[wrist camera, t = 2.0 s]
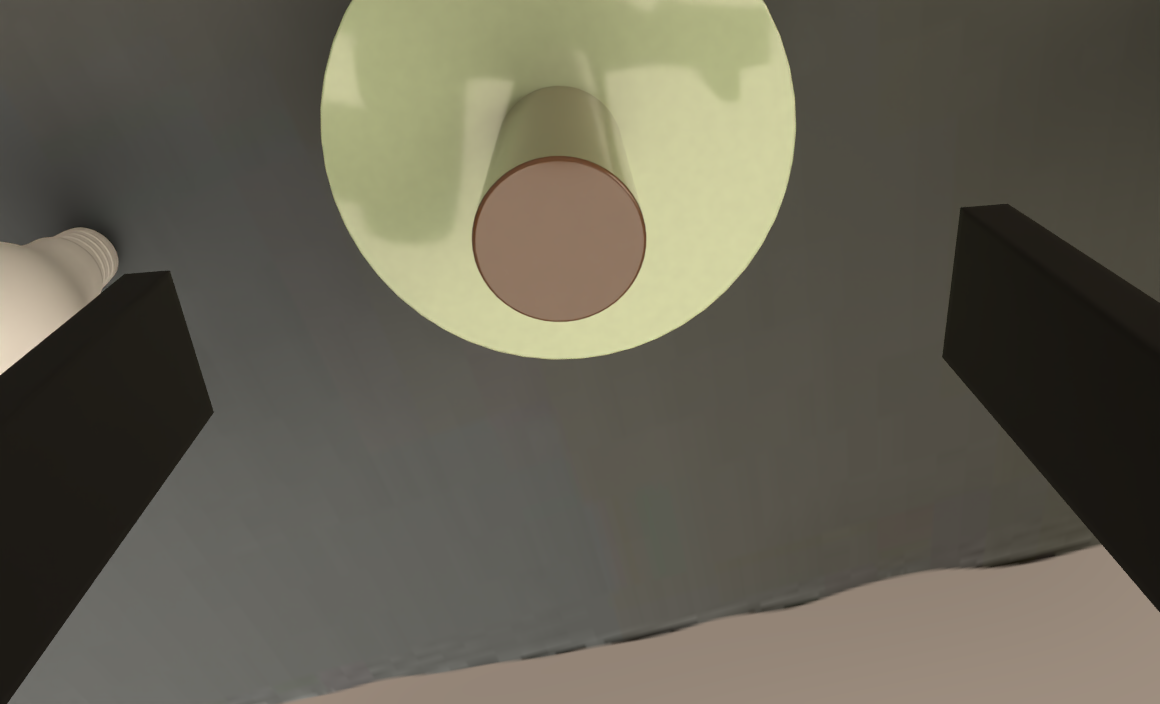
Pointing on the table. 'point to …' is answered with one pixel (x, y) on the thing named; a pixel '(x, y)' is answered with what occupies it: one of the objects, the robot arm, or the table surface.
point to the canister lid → (558, 160)
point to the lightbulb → (49, 286)
